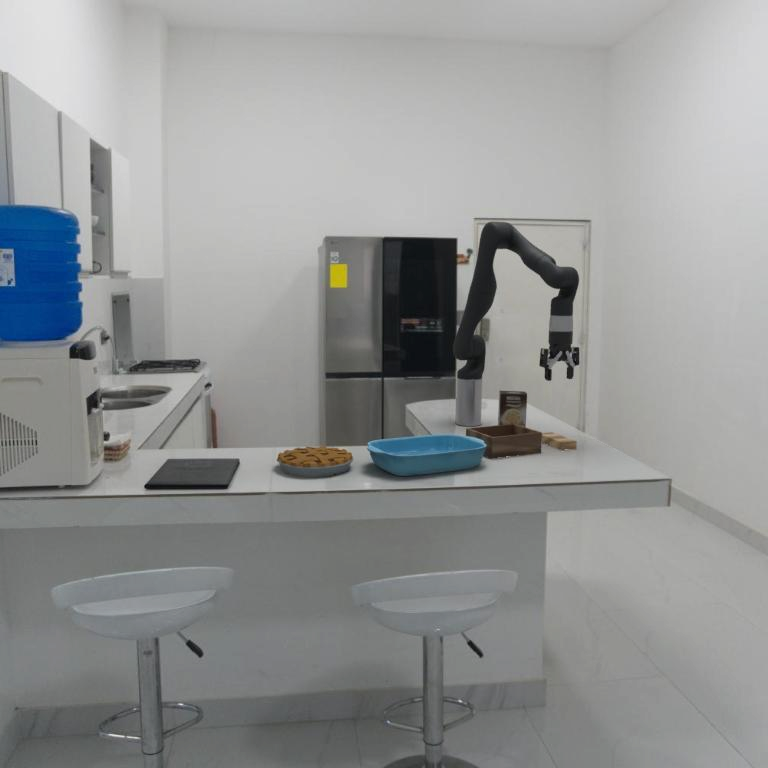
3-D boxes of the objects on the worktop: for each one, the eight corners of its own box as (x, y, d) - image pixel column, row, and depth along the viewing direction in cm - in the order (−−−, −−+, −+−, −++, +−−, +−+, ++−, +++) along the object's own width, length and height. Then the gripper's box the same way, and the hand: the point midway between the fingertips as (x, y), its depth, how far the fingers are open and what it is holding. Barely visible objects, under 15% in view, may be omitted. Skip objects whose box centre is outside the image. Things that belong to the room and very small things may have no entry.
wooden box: (465, 448, 238) (466, 428, 237) (512, 442, 246) (513, 423, 245) (492, 458, 225) (492, 437, 224) (541, 452, 233) (541, 432, 232)
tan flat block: (537, 442, 249) (537, 433, 248) (551, 441, 251) (551, 432, 250) (561, 451, 236) (562, 442, 235) (576, 450, 238) (576, 441, 237)
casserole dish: (459, 451, 235) (459, 429, 234) (501, 468, 215) (501, 444, 214) (353, 464, 218) (353, 441, 217) (388, 484, 198) (388, 458, 197)
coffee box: (498, 440, 250) (499, 393, 247) (497, 436, 256) (498, 390, 253) (525, 441, 249) (527, 393, 246) (524, 437, 255) (525, 390, 253)
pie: (367, 472, 210) (367, 455, 209) (297, 483, 198) (296, 465, 198) (331, 456, 228) (330, 440, 227) (264, 465, 217) (264, 448, 216)
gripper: (570, 328, 244) (568, 377, 246) (535, 329, 238) (533, 379, 240) (586, 329, 237) (584, 379, 240) (550, 331, 231) (548, 382, 234)
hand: (558, 379), depth 240 cm, fingers open, 8 cm apart
